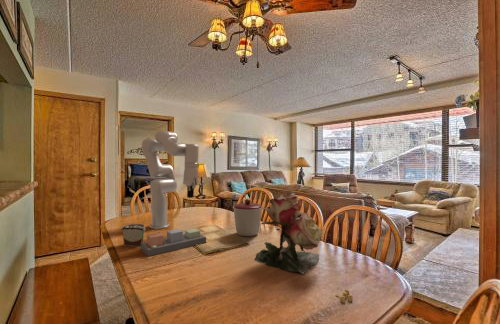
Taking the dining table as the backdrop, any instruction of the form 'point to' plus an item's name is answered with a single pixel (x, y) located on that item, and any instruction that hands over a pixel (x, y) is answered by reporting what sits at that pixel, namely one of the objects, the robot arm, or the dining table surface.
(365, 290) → the dining table surface
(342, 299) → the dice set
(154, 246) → the console
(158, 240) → the button terracotta
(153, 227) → the robot arm
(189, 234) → the button sage
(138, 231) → the grey rimmed container
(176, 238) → the button blue
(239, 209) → the canister
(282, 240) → the rose bouquet
